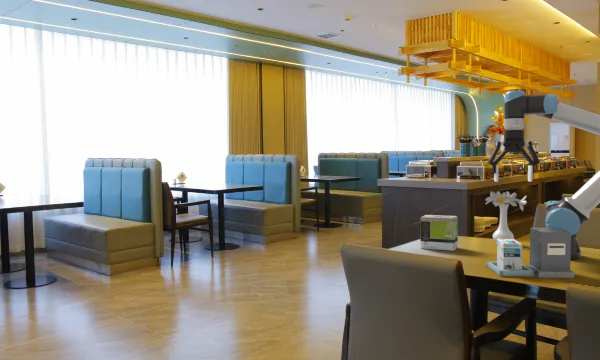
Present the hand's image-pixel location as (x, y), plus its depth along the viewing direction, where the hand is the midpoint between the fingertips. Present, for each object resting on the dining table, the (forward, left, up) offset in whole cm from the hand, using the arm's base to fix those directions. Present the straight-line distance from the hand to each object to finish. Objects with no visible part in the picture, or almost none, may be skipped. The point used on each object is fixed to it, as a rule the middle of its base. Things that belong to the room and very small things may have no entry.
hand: (513, 181), depth 209 cm
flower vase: (-8, -32, -32) cm, 46 cm away
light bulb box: (+9, +23, -31) cm, 40 cm away
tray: (+9, +23, -32) cm, 40 cm away
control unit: (-4, +26, -32) cm, 41 cm away
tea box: (+25, -21, -32) cm, 46 cm away
